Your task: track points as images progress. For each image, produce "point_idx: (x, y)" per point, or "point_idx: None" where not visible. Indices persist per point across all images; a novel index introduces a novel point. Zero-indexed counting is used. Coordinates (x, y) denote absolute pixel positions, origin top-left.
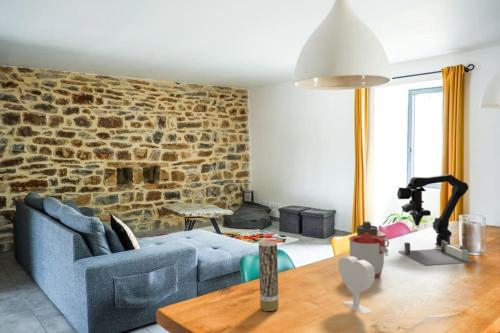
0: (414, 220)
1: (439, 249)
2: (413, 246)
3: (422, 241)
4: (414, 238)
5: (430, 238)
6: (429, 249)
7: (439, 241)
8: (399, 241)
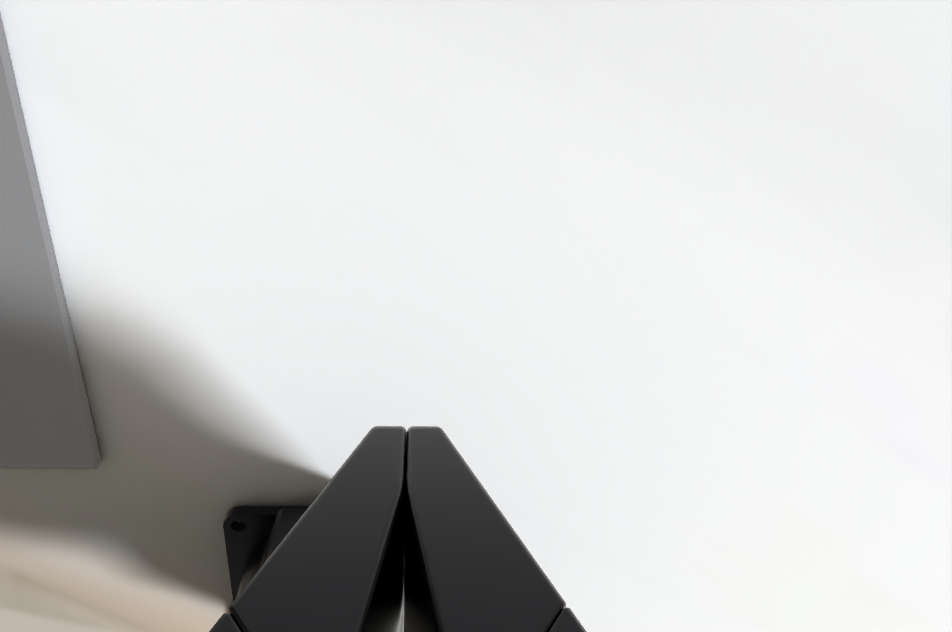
0: (472, 579)
1: (18, 378)
2: (399, 78)
3: (674, 444)
4: (905, 440)
5: (769, 623)
6: (24, 212)
7: (263, 562)
8: (899, 45)
